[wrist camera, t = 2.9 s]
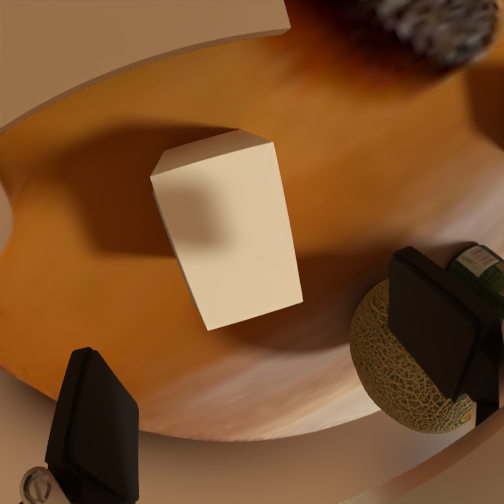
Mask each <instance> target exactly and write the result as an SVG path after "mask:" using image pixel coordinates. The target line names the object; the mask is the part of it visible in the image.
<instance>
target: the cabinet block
mask: <svg viewBox="0 0 504 504" xmlns="http://www.w3.org/2000/svg"><path fill="white" fill-rule="evenodd" d="M150 179H151V182H152V185H153V188H154V190H153V192H152V193H153V196H154V199H155V201H156V204H157V207H158V210H159V213H160V216H161V219H162V221H163V224H164V227H165V230H166V232H167V235H168V238H169V241H170V243H171V246H172V249H173V251H174V254H175V256H176V259H177V262H178V264H179V267H180V269H181V272H182V274H183V277H184V280H185V282H186V285H187V287H188V289H189V292H190V294H191V297H192V299H193V302H194V304H195V307H196V309H197V311H198V310H199V311H200V313H201V316H202V318H203V320H204V323H205V325H206V327H207V330H208V331H209V330H212V329H216V328H219V327H223V326H226V325H230V324H233V323H236V322H240V321H243V320H247V319H250V318H253V317H256V316H260V315H263V314H266V313H269V312H273V311H276V310H279V309H282V308H285V307H288V306H291V305H294V304H298V303H301V302H303V298H302V291H301V285H300V279H299V274H298V268H297V262H296V256H295V251H294V245H293V240H292V234H291V229H290V223H289V218H288V213H287V208H286V202H285V197H284V192H283V187H282V182H281V177H280V172H279V168H278V163H277V158H276V153H275V149H274V144H273V142H272V141H269V140H267V139H265V138H262V137H260V136H257V135H255V134H252V133H249V132H247V131H244V130H242V129H239V130H235V131H231V132H227V133H223V134H220V135H216V136H212V137H209V138H205V139H202V140H198V141H195V142H191V143H188V144H185V145H181V146H178V147H175V148H172V149H168V150H165V151H164V153H163V154H162V156H161V158H160V160H159V161H158V163H157V165H156V167H155V169H154V170H153V172H152V174H151V176H150Z"/></svg>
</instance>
